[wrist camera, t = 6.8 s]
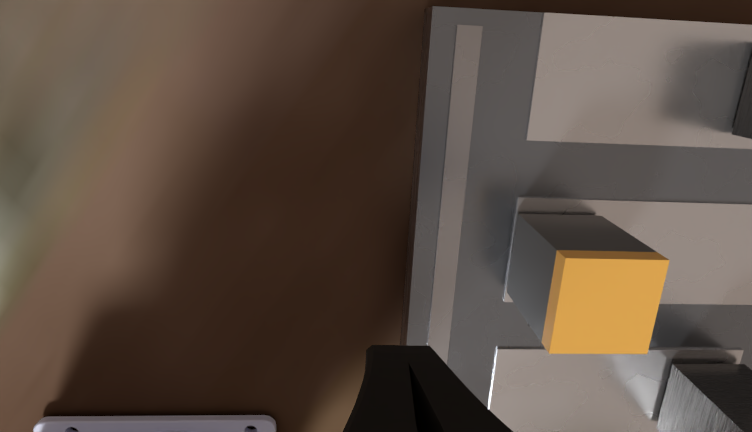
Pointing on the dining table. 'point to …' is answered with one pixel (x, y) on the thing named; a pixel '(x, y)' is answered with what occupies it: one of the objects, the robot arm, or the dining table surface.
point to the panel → (585, 208)
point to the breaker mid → (585, 284)
